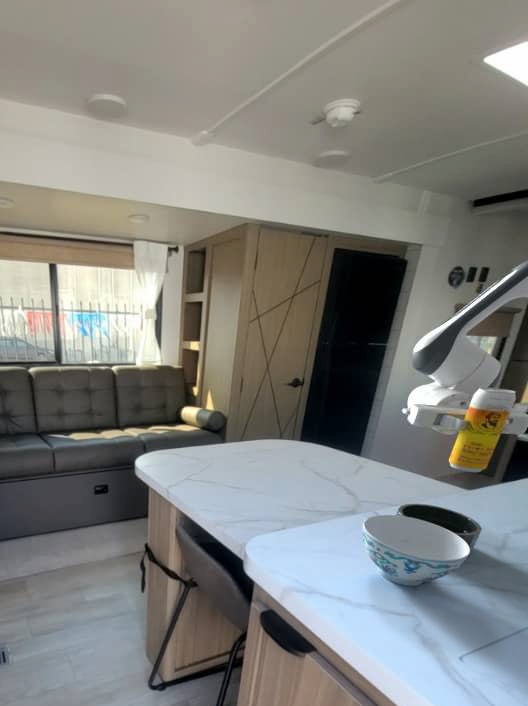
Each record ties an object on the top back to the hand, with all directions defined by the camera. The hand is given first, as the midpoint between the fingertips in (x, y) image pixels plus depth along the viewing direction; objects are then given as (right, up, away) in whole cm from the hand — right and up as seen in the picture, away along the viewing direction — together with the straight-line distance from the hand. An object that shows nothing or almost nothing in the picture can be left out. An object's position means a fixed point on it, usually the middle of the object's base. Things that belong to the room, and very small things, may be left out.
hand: (485, 427), depth 76 cm
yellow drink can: (0, -7, +4) cm, 9 cm away
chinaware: (-20, -27, -6) cm, 34 cm away
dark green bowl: (-8, -22, +4) cm, 24 cm away
